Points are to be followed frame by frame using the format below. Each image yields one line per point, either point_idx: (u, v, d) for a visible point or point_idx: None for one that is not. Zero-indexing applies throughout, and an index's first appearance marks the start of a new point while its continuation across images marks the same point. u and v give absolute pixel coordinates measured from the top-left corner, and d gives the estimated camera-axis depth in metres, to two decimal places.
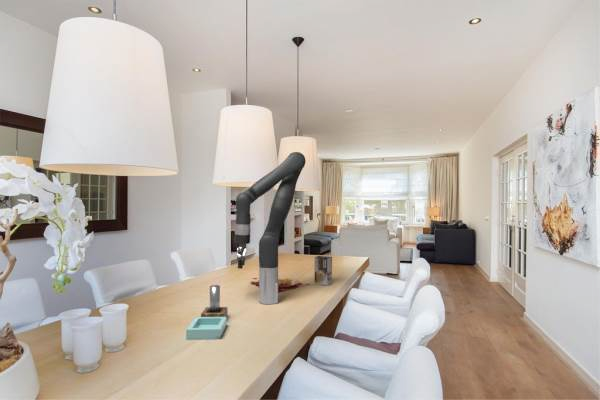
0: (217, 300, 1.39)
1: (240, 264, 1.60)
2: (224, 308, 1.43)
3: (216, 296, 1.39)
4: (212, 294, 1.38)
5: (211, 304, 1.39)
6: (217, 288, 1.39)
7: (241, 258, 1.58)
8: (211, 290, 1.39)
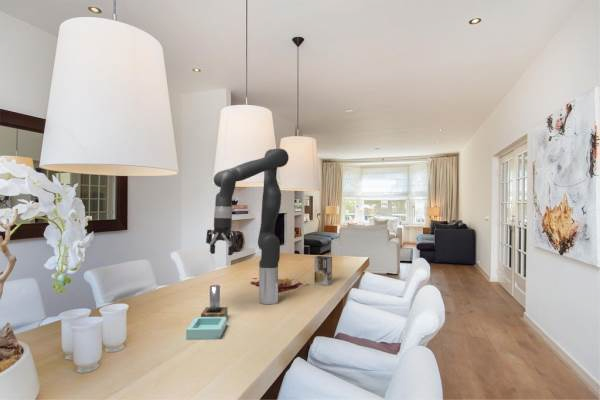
0: (217, 300, 1.39)
1: (232, 250, 1.46)
2: (224, 308, 1.43)
3: (216, 296, 1.39)
4: (212, 294, 1.38)
5: (211, 304, 1.39)
6: (217, 288, 1.39)
7: (237, 243, 1.46)
8: (211, 290, 1.39)
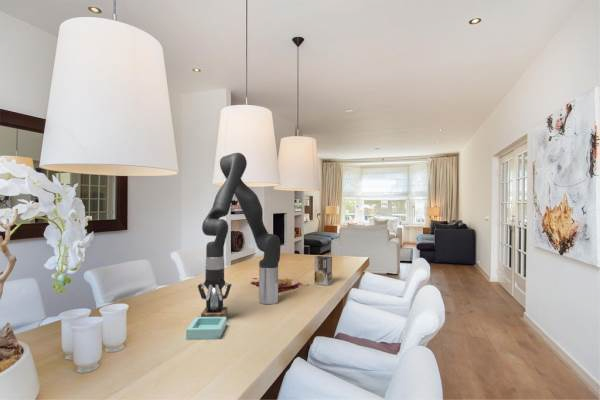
0: (217, 300, 1.39)
1: (222, 303, 1.41)
2: (224, 308, 1.43)
3: (216, 296, 1.39)
4: (212, 294, 1.38)
5: (211, 304, 1.39)
6: None
7: None
8: (211, 290, 1.39)
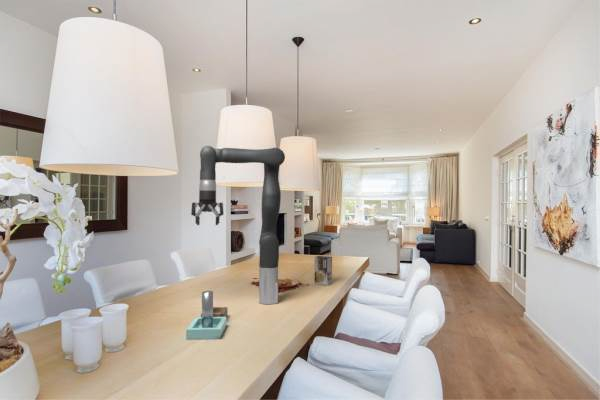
0: (209, 307, 1.26)
1: None
2: (224, 308, 1.43)
3: (209, 303, 1.26)
4: (204, 300, 1.25)
5: (203, 312, 1.26)
6: (210, 294, 1.26)
7: (223, 213, 1.58)
8: (203, 296, 1.26)
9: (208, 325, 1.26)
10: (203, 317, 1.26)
